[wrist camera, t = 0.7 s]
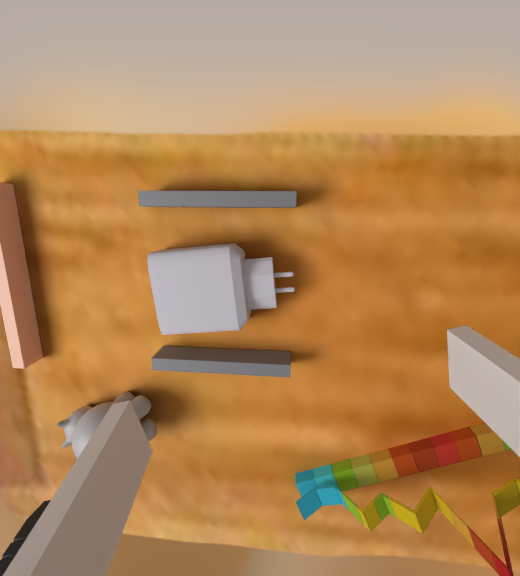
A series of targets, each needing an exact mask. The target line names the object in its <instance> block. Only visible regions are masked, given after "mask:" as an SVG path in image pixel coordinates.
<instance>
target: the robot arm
mask: <svg viewBox="0 0 520 576" xmlns="http://www.w3.org/2000/svg"><path fill="white" fill-rule="evenodd" d="M447 338H448V360H449V382H450V388H451V389H452V390H453V391H454V392H455V393H456V394H457V395H458V396H459V397H460V398H461V399H462V400H463V401H464V402H465V403H466V404H467V405H468V406H469V407H470V408H471V409H472V410H473V411H474V412H475V413H476V414H477V415H478V416H479V417H480V418H481V419H482V420H483V421H484V422H485V423H486V424H487V425H488V426H489V427H490V428H491V429H492V430H493V431H494V432H495V433H496V434H497V435H498V436H499V437H500V438H501V439H502V440H503V441H504V442H505V443H506V444H507V445H508V446H509V447H510V448H511V449H512V450H513V451H514V452H515V453H516V454H517V455H518V456H519V457H520V359H518V358H517V357H515V356H514V355H512V354H511V353H509V352H507V351H506V350H504V349H503V348H501V347H500V346H498V345H496V344H495V343H493V342H492V341H490V340H489V339H487V338H485V337H484V336H482V335H481V334H479V333H478V332H476V331H474V330H473V329H471V328H470V327H468V326H462V327H458V328H453V329H449V330H447ZM152 451H153V450H152V448H151V446H150V444H149V441H148V439H147V437H146V435H145V432H144V430H143V428H142V426H141V423H140V421H139V419H138V417H137V415H136V412H135V410H134V408H133V406H132V403H131V401H130V400H129V401H124V402H120V403H115V404H112V406H111V407H110V409H109V410H108V412H107V413H106V415H105V417H104V418H103V420H102V421H101V423H100V424H99V426H98V428H97V429H96V431H95V432H94V434H93V435H92V437H91V438H90V440H89V442H88V443H87V445H86V446H85V448H84V449H83V451H82V453H81V454H80V456H79V457H78V459H77V460H76V462H75V463H74V465H73V467H72V468H71V470H70V471H69V473H68V474H67V476H66V478H65V479H64V481H63V482H62V484H61V485H60V487H59V488H58V490H57V492H56V493H55V495H54V496H53V498H52V499H51V500H49V501H44V502H43V503H42V504H41V505H40V506H39V507H38V508H37V510H36V511H35V512H34V513H33V514H32V515H31V516H30V517H29V518H28V519H27V520H26V522H25V523H24V525H23V526H22V528H21V529H20V531H19V532H18V533H17V535H16V536H15V538H14V542H13V543H11V544H10V545H9V547H8V548H7V550H6V551H5V553H4V554H3V558H2V560H0V576H106V574H107V572H108V569H109V566H110V564H111V561H112V558H113V556H114V553H115V550H116V547H117V545H118V542H119V540H120V537H121V534H122V532H123V529H124V526H125V523H126V521H127V518H128V515H129V513H130V510H131V507H132V505H133V502H134V499H135V497H136V494H137V491H138V489H139V486H140V483H141V481H142V478H143V475H144V473H145V470H146V467H147V465H148V462H149V459H150V456H151V454H152Z"/></svg>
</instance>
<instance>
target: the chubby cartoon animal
mask: <svg viewBox="0 0 520 576" xmlns="http://www.w3.org/2000/svg"><path fill="white" fill-rule="evenodd" d="M129 400H130V401H131V403H132V406H133V408H134V410H135V412H136V415H137V417H138V419H139V421H140V423H141V426H142V428H143V430H144V432H145V435H146V437H147V439H148V441H150V440H151V439H153V438H154V437H155V436H156V434H157V427H156V424H155V423H154V421H153V420H151V419H145V420H143V421H142V422H141V420H140V419H141V418H142V417H144V416H145V415H146V414H148V413H149V411H150V410H151V402H150V401H149V399H148V398H146V397H145V396H143V395H138V396H136V397H134V395H133V394H132V393H130V392H124V393H122V394H121V395H119V396H118V397H117V398H116V399H115V400H114V401H113V402H106V403H102V404H99V405H97V406H95V407H93V408H92V407H90V406H83V407H81V408H79V409H77V410H76V411H74V412H73V413H72V414H71V415H70V416H69V417H68V418H66V419H65V420H63V421H60V422H59V423H57V426H59V427H61V428H64V432H65V435H66V441H65V442H64V443H63V445H62V448H64V447H67V446H70V445H72V448H73V451H74V454H75V456H76V458H77V459H78V457H79V456H80V454H81V453H82V451H83V449H84V448H85V446H86V445H87V443H88V442H89V440H90V438H91V437H92V435H93V434H94V432H95V431H96V429H97V428H98V426H99V424H100V423H101V421H102V420H103V418H104V417H105V415H106V413H107V412H108V410H109V409H110V407H111V406H112V404H115V403H120V402H124V401H129Z"/></svg>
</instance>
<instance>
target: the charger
mask: <svg viewBox="0 0 520 576" xmlns="http://www.w3.org/2000/svg"><path fill="white" fill-rule="evenodd" d="M148 270H149V275H150V281H151V286H152V291H153V297H154V302H155V308H156V313H157V318H158V323H159V328H160V331H161V333H162V334H163V335H170V334H186V333H202V332H218V331H234V330H241V328H242V327H243V326H244V325H245V324H246V323H247V321H248V319H249V316H250V314H251V310H254V309H268V308H277V301H276V293H283V292H294V291H295V288H294V287H286V288H276V287H275V278H279V277H291V276H293V272H281V273H274V266H273V259H272V257H268V258H257V259H245V252H244V250H243V249H241V248H240V247H239V246H238V245H237V244H236V243H229V244H218V245H207V246H197V247H186V248H176V249H165V250H159V251H155V252H152V253H149V254H148Z"/></svg>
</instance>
